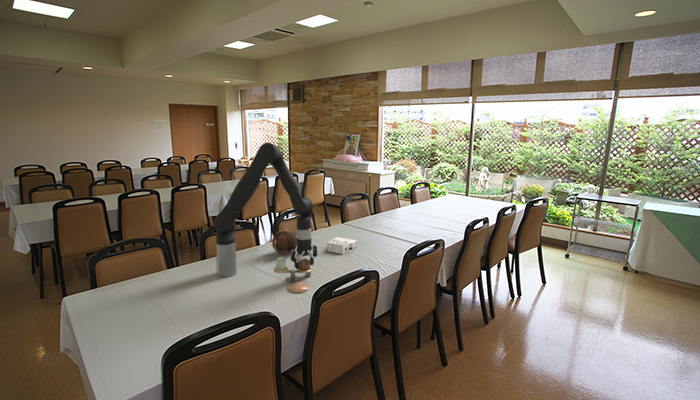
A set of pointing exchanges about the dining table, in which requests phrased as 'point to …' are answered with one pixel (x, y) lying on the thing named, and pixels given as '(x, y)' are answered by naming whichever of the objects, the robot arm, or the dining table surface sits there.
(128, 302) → the dining table surface
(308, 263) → the walnut block
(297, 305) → the dining table surface
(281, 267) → the grey cup
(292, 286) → the terracotta saucer
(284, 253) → the wooden sphere
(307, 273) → the balance
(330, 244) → the house
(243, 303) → the dining table surface
